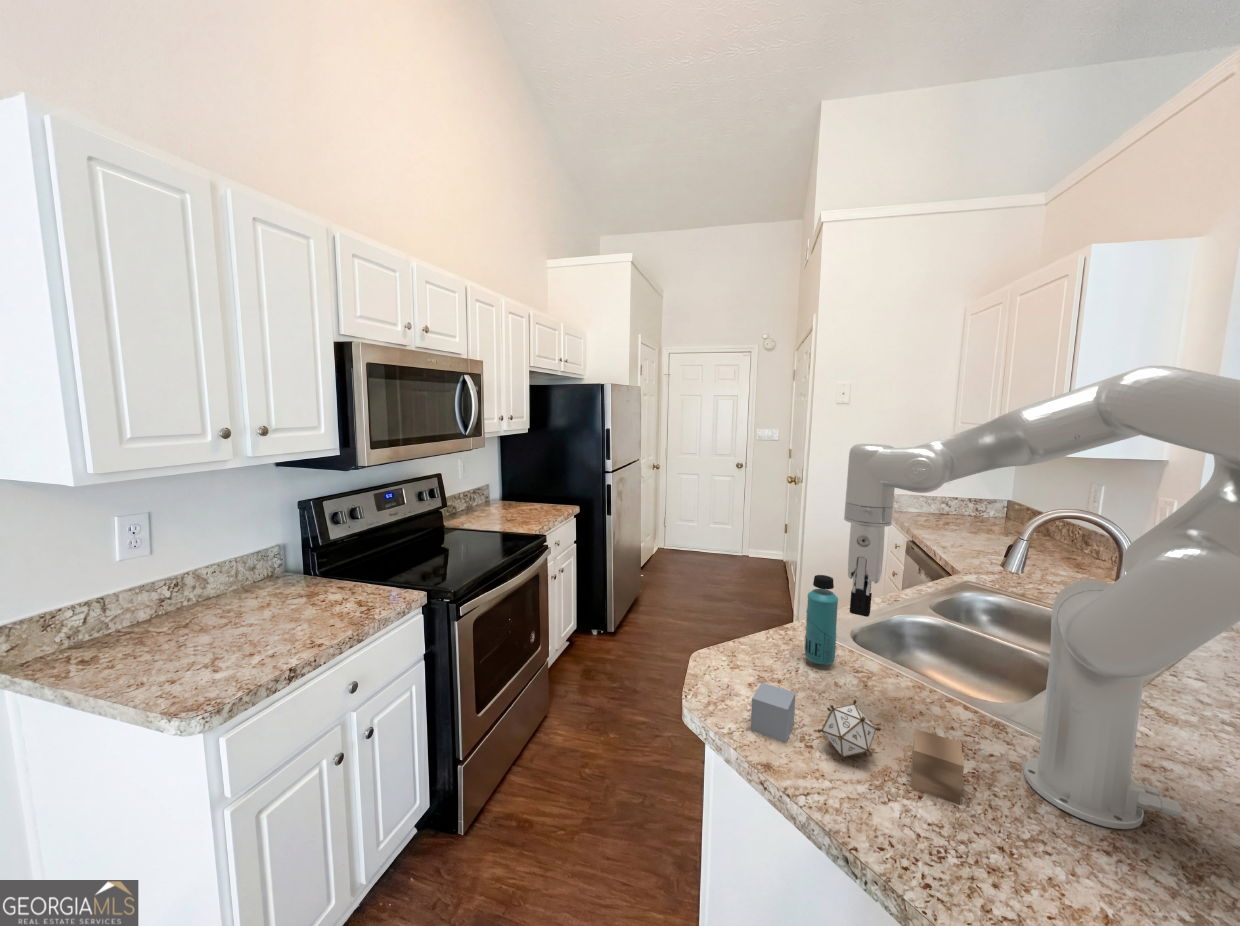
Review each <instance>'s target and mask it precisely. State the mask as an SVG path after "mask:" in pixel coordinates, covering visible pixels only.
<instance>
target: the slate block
mask: <svg viewBox="0 0 1240 926" xmlns="http://www.w3.org/2000/svg"><path fill="white" fill-rule="evenodd" d="M795 708H796V692H794V691H791V690H788V689H786V688H782V687H778V686H776V685H771V684H768V683H767V682H766V683H765V682H761V683H760V684H759V686H758V687H757V689H756V690H755V692H754V694H753V695H752V698H751V709H750V710H751V713H750V714H751V715H750V731H751V732H753V733H757V734H759V735H762V736H766V737H768V738H771V739H774V740H776V741H780V742H781V743H784V744H786V743H787V741H788V739H789V737H790V735H791V732H792V729H793V727H794V725H795V714H796V713H795V712H796V709H795Z"/></svg>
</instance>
